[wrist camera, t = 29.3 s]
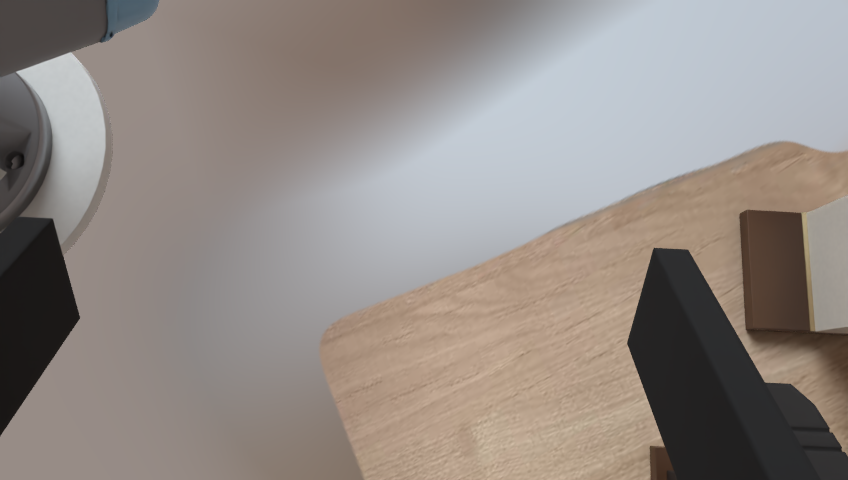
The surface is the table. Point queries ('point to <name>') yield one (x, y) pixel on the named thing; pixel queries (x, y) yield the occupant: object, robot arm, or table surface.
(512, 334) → the table surface
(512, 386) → the table surface
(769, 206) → the table surface
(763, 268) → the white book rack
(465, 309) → the table surface
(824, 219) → the white book
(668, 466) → the grey book row
